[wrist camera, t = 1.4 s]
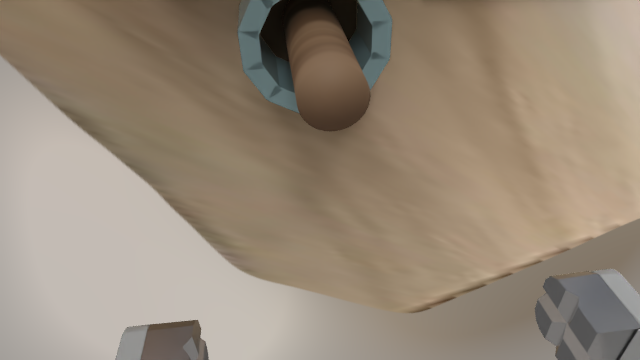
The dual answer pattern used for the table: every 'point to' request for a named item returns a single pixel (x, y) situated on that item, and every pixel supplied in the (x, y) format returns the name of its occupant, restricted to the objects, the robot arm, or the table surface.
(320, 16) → the dowel
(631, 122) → the table surface
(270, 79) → the tube
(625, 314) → the robot arm
